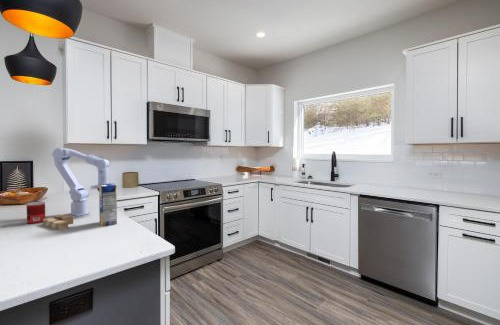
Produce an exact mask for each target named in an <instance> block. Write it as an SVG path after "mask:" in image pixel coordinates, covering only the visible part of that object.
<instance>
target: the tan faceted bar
mask: <svg viewBox="0 0 500 325" xmlns="http://www.w3.org/2000/svg"><path fill="white" fill-rule="evenodd" d="M42 223H43V226H47V227H50V228H52V229H56V230H57V231H61V230H65V229H69V225H68V222H65V221H62V220H59V219H55V217H48V218H45V219H43V222H42Z"/></svg>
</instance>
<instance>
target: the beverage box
mask: <svg viewBox="0 0 500 325" xmlns="http://www.w3.org/2000/svg"><path fill="white" fill-rule="evenodd" d="M98 196H99V197H98V198H99V199H98V202H99V207H98V208H99V209H98V210H99V223H100V224H101V226H102V227H109V225H110V226H114V225H115V224H116V225H117V224H118V223H117V222H118V219H117V218H118V213H117V212H118V211H117V208H118V207H117V205H118V203H117V202H118V201H117V185H116V183H113V182H110V183H109V182H108V184H99V191H98Z"/></svg>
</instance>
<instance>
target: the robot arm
mask: <svg viewBox="0 0 500 325" xmlns="http://www.w3.org/2000/svg"><path fill="white" fill-rule="evenodd" d="M51 156H52V157H53V161H54V166H55V168H56V169H57V171H58V172H59V174H60V175H61V177H62V178H63V180H64V181H65V183H66V184H67V186H68V187H69V192H68V193H69V195H70V199H71V200H72V201H71V203H70V213H69V215H71V216H75V217H79V216H84V215H89V214H91V212H88V198H89V196H90V192H89V190H88V189H86V188H85V186H83V185H81V184H80V183H79V181H78V180H77V178H76V177H75V175H74V174H73V171H72V170H71V169H70V167H69V166H68V165H67V163H68V161H69V160H70V159H71V158H72V157H75V158H77V159H80V160H84V161H85V163H86V164H89V165H92V166H94V167H96V168H97V184H95V185H91V186H90V190H95V189H96V190H97V191H98V192H99V184H109V167H110V166H111V162H110V160H108V159H106V158H104V159H103V158H102V157H98V156H95V154H85V153H83V152H81V151H78V150H75V149H71V148H68V147H67V148H61V147H56V148H55V149H53V151H52V154H51Z"/></svg>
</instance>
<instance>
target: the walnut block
mask: <svg viewBox="0 0 500 325" xmlns="http://www.w3.org/2000/svg"><path fill="white" fill-rule="evenodd" d="M54 218H55V219H59V220H62V221H65V222H68V226H69V225H73V224H74V215H71V214H66V213H64V214H60V215H55V216H54Z"/></svg>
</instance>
